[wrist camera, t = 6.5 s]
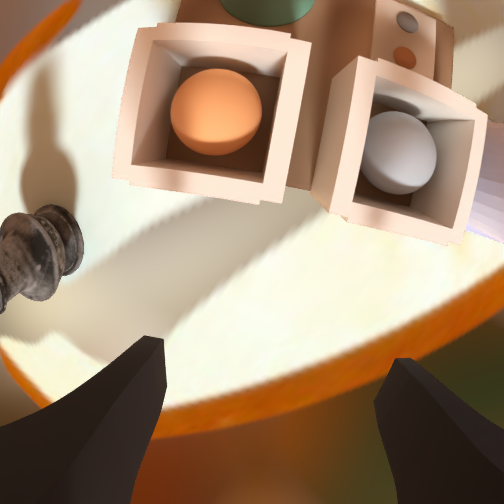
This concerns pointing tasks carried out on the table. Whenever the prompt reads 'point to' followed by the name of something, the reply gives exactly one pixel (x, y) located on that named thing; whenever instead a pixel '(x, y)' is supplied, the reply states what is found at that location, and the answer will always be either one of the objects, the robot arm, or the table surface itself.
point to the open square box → (441, 129)
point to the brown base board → (321, 68)
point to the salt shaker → (37, 253)
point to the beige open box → (165, 87)
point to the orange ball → (216, 112)
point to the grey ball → (398, 153)
